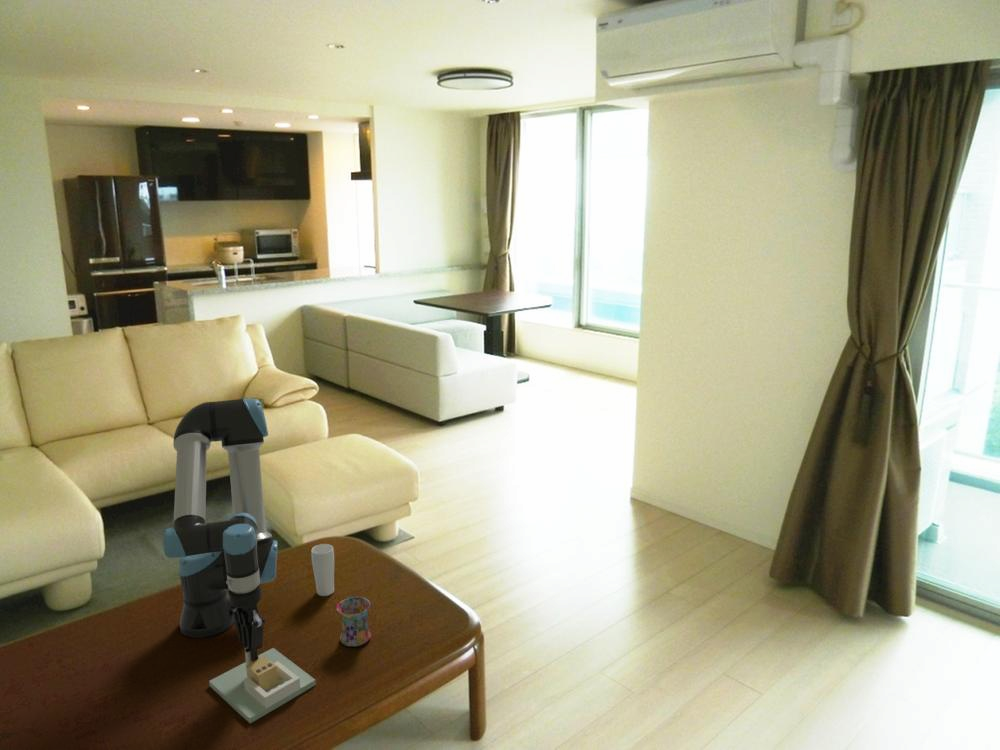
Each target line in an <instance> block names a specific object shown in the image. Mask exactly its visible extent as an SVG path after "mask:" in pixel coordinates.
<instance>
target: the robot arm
mask: <svg viewBox="0 0 1000 750" xmlns="http://www.w3.org/2000/svg"><path fill="white" fill-rule="evenodd" d="M266 421H267V420H266V416H265V412H264V408H263V405H262V402H261V400H260V399H258V398H239V399H229V400H227V399H226V400H220V401H219V400H218V401H205V402H202V403H199V404H197V405H196V406H193V407H192V408H191V409H190V410H189V411H188V412H186V413H185V414H184V415H183V416H182V418H181V420H180V421H179V423H178V425H177V426H176V429H175V432H174V435H173V443H172V445H173V448H174V450H175V451H176V463H175V464H176V466H175V467H176V468H175V488H174V503H173V504H174V507H173V527H172V526H170V527H168V528H165V529H164V530H163V534H162V548H163V553H164V555H165V557H166V558H168V559H176V558H177V559H178V558H179V561H178V565H179V566H178V569H179V571H178V575H179V577H180V585H181V592H182V598H183V600H182V601H183V606H182V611H181V615H180V619H179V627H180V631H181V633H182V634H183V635H184V636H186V637H188V638H191V639H193V638H194V639H197V638H198V639H201V638H208V637H212V636H216V635H219V634H221V633H223V632H224V631H226V630H228V629H230V627H232V626H233V625H234V624H235V629H236V633H237V638H238V641H239V643H242V647H243V648H244V657H245V662H246V665H247V664H249V663H251V662H253V661H255V660H257V659H259V658H258V655H259V650H261V649H263V643H264V642H263V641H264V640H263V639H264V625H265V622H266V620H265V618H264V617H261V618H260V616H259V608H258V603H259V602H260V601H261V599H262V587H261V584H266V583H270V582H272V581H275V579H276V576H277V566H278V565H277V563H278V562H277V561H278V541H277V540H275V539H273V535H272V534H271V533H270V532H269V530H267V526H266V516H265V515H266V514H265V505H264V491H263V482H262V481H263V479H262V470H261V467H262V466H261V456H260V449H261V448H262V446H263V445H264V444H265V443H264V442H265V440H264V438H266V437H268V436H269V431H268V426H267V422H266ZM212 442H215V443H216V442H221V448H222V449H224V450H225V451H226V452H227V454H228V455H227V457H228V466H229V468H228V469H229V478H230V490H231V493H230V494H231V502H232V504H231V505H232V514H233V515H232V516H231V517H230V519H228V520H221V521H214V522H213V521H212V522H206V511H207V510H206V507H207V506H206V504H207V503H206V501H207V500H206V499H207V451H208V450H209V449H210V447H211V445H212V444H211V443H212ZM227 590H228V591H227Z"/></svg>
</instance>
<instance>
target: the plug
mask: <svg viewBox="0 0 1000 750" xmlns="http://www.w3.org/2000/svg"><path fill="white" fill-rule="evenodd" d="M246 671H247V677H249V678H250V679H251V680H252V681H254V682H255V683H256V684H257V685H258V686H259V687H261V688H262V689H263V690H264V691H265V690H267V689H269V688H271V687H272V686H274V685H276V684H278V675H277V666H276V665H275V664H274V663H272V662H271V661H270V660H269V659H267V658H266V657H265V656H263V657H261V658H259V659H257V660H255V661H253V662H251V663H249V664H247V665H246Z"/></svg>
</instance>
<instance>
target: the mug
mask: <svg viewBox="0 0 1000 750" xmlns="http://www.w3.org/2000/svg"><path fill="white" fill-rule="evenodd" d="M371 605H372V604H371V602H370V600H369V599H368V598H365V597H362V596H351V597H346V598H345V599H342V600H341V601H339V602H338V603H337V605H336V607H335V609H336V612H337V614H338V615H339V617H340V620H341V626H342V627H341V628H342V629H341V631H342V632H341V634H340V637H339V641H340V642H341V644H343V645H344V646H347V647H354V648H355V647H359V646H362V645H364V644H366V643H367V642H369V640H370V639H371V637H372V633H371V630H370V629H369V627H368V622H367V620H368V614H369V611H370V608H371Z"/></svg>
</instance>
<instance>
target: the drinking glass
mask: <svg viewBox="0 0 1000 750" xmlns="http://www.w3.org/2000/svg"><path fill="white" fill-rule="evenodd" d="M310 552H311V565H312V570H313V575H314V581H315V586H316V593H317V595H318V596H320V597H328V596H330V595H332V594H333V593H334V592H335V550H334V546H333V545H331V544H328V543H320V544H317V545H315V546H313V547H312V548H311V551H310Z"/></svg>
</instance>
